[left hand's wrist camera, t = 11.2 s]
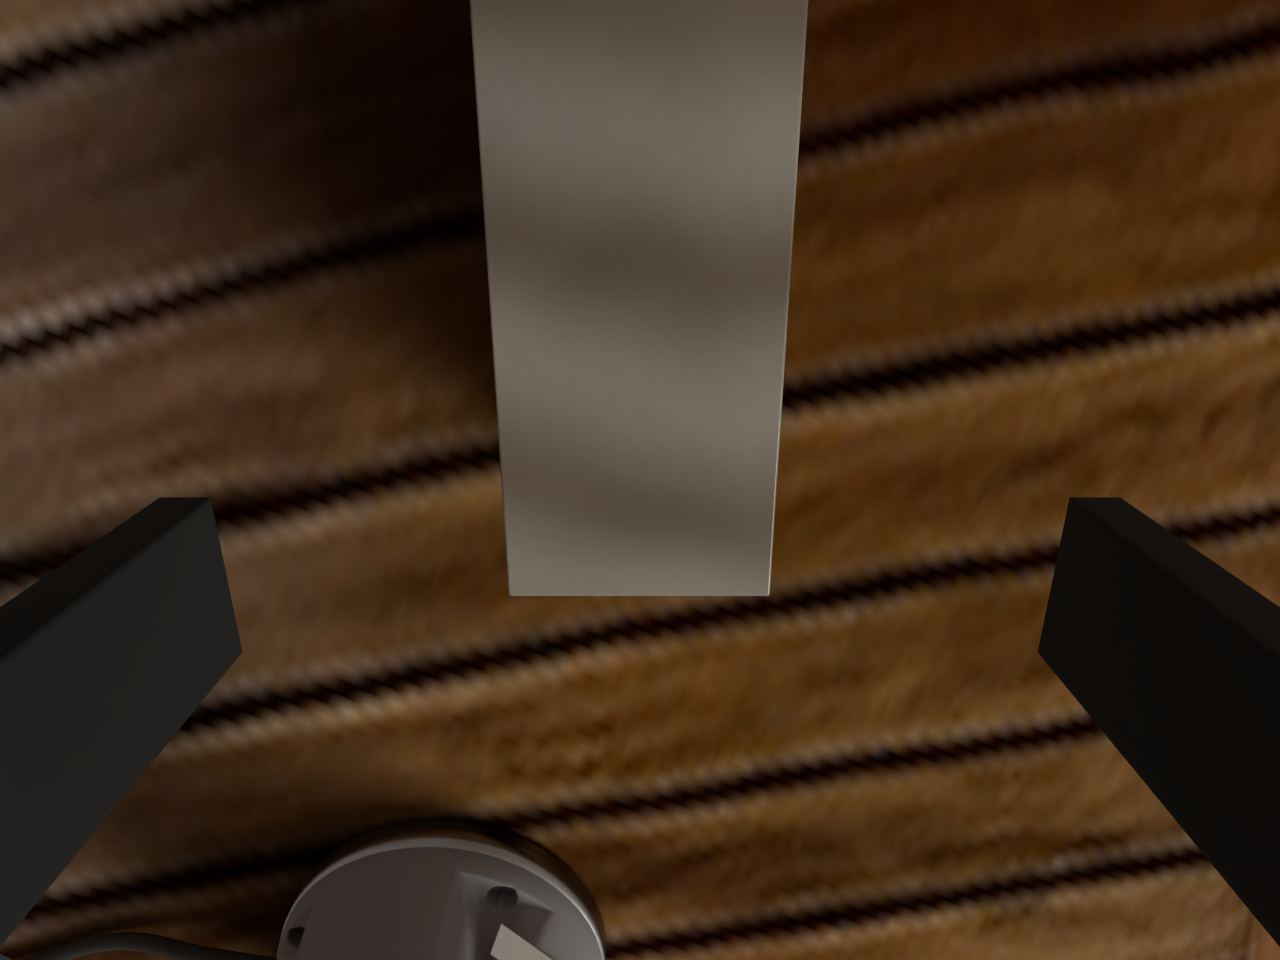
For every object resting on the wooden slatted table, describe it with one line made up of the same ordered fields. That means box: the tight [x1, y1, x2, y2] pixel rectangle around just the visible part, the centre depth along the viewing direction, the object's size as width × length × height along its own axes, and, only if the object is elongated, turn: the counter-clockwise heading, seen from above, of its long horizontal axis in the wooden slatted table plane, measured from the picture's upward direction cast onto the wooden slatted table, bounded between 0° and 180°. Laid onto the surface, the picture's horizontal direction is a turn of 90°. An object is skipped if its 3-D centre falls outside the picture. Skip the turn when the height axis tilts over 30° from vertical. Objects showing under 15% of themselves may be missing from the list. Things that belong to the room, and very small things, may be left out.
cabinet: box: [470, 0, 808, 596], centre depth 23 cm, size 17×7×10 cm, turn 0°
